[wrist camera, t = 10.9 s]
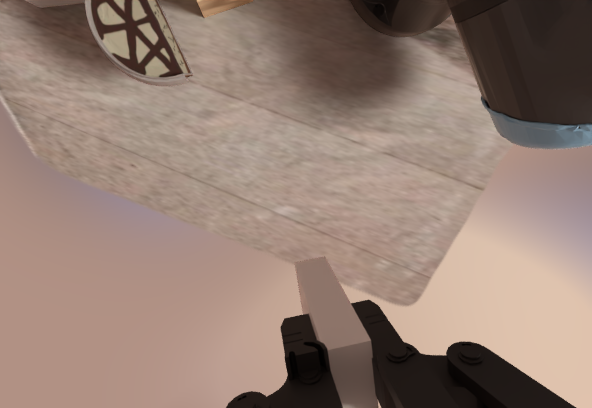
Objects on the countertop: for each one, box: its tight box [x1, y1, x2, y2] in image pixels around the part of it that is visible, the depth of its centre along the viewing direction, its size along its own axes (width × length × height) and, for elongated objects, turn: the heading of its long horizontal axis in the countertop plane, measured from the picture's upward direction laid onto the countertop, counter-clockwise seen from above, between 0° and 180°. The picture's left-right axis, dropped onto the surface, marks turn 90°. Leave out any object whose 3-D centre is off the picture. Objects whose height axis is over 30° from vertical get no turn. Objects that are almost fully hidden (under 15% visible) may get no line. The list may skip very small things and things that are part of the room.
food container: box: [85, 0, 193, 86], centre depth 36 cm, size 12×6×10 cm, turn 22°
